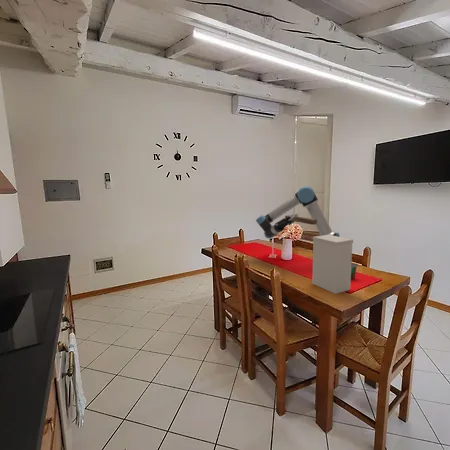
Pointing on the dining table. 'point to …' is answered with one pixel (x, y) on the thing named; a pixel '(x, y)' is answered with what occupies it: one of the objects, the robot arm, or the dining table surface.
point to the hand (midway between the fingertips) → (295, 215)
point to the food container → (353, 270)
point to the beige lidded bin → (332, 263)
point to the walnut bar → (303, 220)
